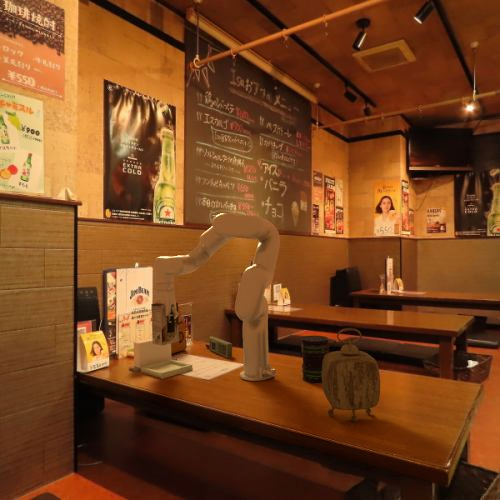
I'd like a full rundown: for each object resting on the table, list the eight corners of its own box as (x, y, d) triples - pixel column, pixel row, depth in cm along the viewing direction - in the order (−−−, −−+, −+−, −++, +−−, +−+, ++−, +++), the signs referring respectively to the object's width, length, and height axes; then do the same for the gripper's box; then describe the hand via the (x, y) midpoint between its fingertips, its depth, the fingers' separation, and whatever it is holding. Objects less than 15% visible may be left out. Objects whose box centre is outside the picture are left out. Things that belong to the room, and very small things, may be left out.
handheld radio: (226, 359, 183) (203, 348, 204) (233, 358, 185) (209, 347, 206) (226, 343, 183) (203, 335, 205) (233, 343, 185) (209, 334, 206)
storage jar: (298, 381, 147) (297, 339, 147) (307, 374, 156) (306, 334, 156) (325, 385, 142) (323, 342, 143) (333, 377, 151) (332, 336, 151)
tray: (192, 369, 167) (192, 364, 167) (162, 378, 155) (161, 373, 155) (171, 364, 176) (171, 359, 176) (141, 372, 165) (140, 367, 165)
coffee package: (190, 350, 201) (188, 305, 201) (172, 356, 190) (170, 308, 190) (174, 348, 206) (173, 304, 206) (156, 353, 195) (155, 307, 196)
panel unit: (176, 361, 181) (175, 336, 181) (137, 371, 166) (136, 344, 166) (168, 359, 185) (167, 334, 185) (128, 369, 170) (128, 342, 170)
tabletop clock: (372, 411, 118) (369, 324, 118) (384, 424, 109) (381, 330, 109) (322, 413, 118) (320, 326, 118) (330, 426, 109) (327, 332, 109)
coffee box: (169, 339, 171) (168, 301, 171) (179, 341, 167) (178, 302, 167) (151, 343, 164) (150, 303, 164) (161, 345, 160) (160, 304, 160)
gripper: (144, 287, 169) (145, 330, 169) (170, 288, 157) (171, 335, 157) (159, 285, 174) (160, 327, 174) (185, 287, 163) (186, 332, 163)
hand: (165, 331), depth 166 cm, fingers closed on coffee box, 6 cm apart
